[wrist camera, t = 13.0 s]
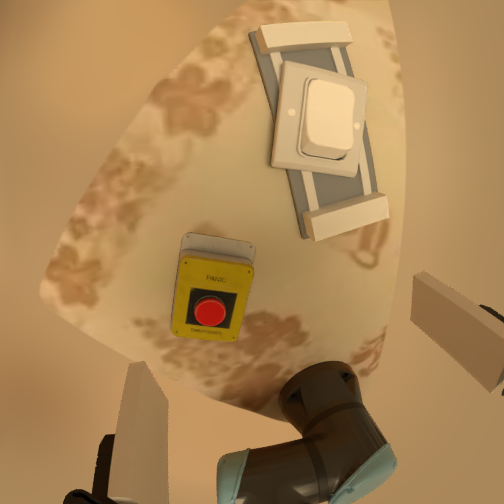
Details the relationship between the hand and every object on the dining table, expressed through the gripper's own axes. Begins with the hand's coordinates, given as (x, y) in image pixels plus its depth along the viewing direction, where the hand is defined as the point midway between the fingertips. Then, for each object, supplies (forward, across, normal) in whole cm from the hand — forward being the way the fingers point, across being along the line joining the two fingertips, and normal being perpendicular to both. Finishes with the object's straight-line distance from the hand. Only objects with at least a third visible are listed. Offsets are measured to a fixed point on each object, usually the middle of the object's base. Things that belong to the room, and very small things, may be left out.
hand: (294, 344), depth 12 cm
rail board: (+24, -14, -9) cm, 29 cm away
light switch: (+23, -13, -10) cm, 28 cm away
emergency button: (+25, +5, +8) cm, 27 cm away
